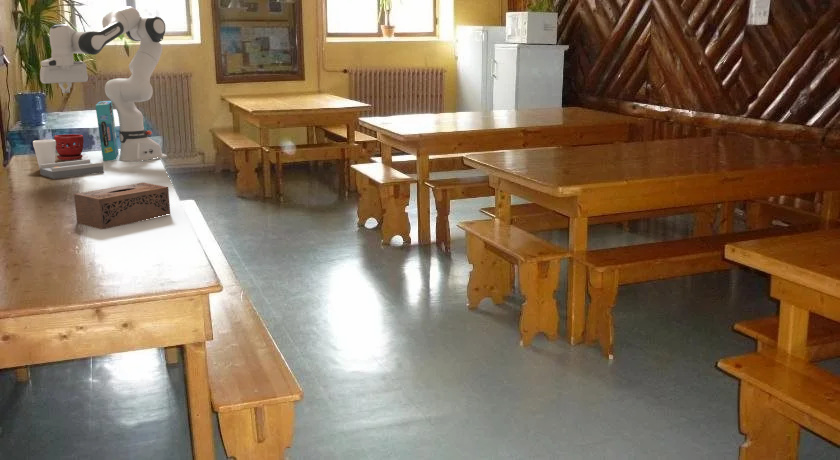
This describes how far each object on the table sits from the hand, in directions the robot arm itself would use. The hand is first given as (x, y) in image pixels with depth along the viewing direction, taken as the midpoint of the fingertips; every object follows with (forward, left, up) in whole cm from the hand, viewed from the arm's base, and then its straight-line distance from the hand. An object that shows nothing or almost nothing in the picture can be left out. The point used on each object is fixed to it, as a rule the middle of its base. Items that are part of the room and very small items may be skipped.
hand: (66, 93), depth 364 cm
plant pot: (-10, -27, -34) cm, 45 cm away
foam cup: (+10, -5, -34) cm, 36 cm away
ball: (+13, +15, -32) cm, 38 cm away
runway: (+7, +15, -34) cm, 38 cm away
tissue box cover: (+32, +116, -35) cm, 125 cm away
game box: (-26, -18, -34) cm, 47 cm away
